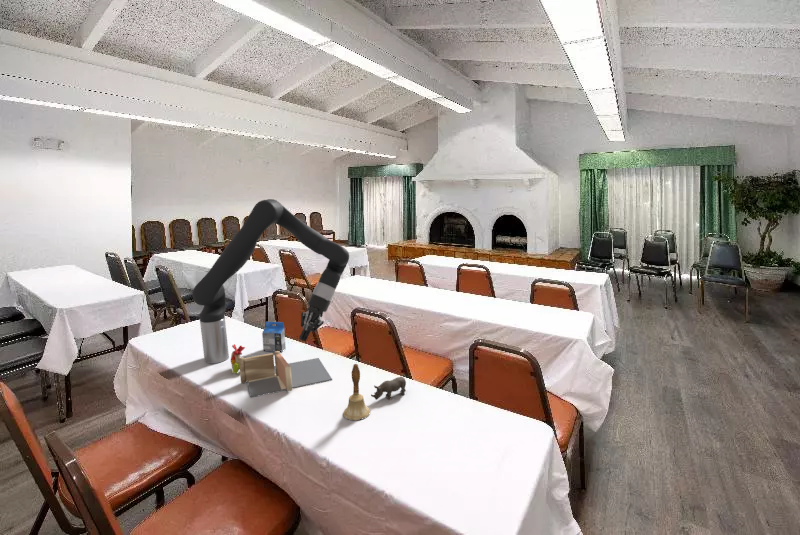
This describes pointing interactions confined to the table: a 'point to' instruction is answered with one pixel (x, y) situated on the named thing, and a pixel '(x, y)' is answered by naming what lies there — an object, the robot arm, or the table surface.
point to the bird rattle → (236, 358)
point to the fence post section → (258, 367)
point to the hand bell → (356, 399)
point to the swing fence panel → (284, 372)
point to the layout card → (300, 376)
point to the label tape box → (274, 337)
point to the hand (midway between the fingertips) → (302, 340)
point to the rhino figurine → (390, 387)
